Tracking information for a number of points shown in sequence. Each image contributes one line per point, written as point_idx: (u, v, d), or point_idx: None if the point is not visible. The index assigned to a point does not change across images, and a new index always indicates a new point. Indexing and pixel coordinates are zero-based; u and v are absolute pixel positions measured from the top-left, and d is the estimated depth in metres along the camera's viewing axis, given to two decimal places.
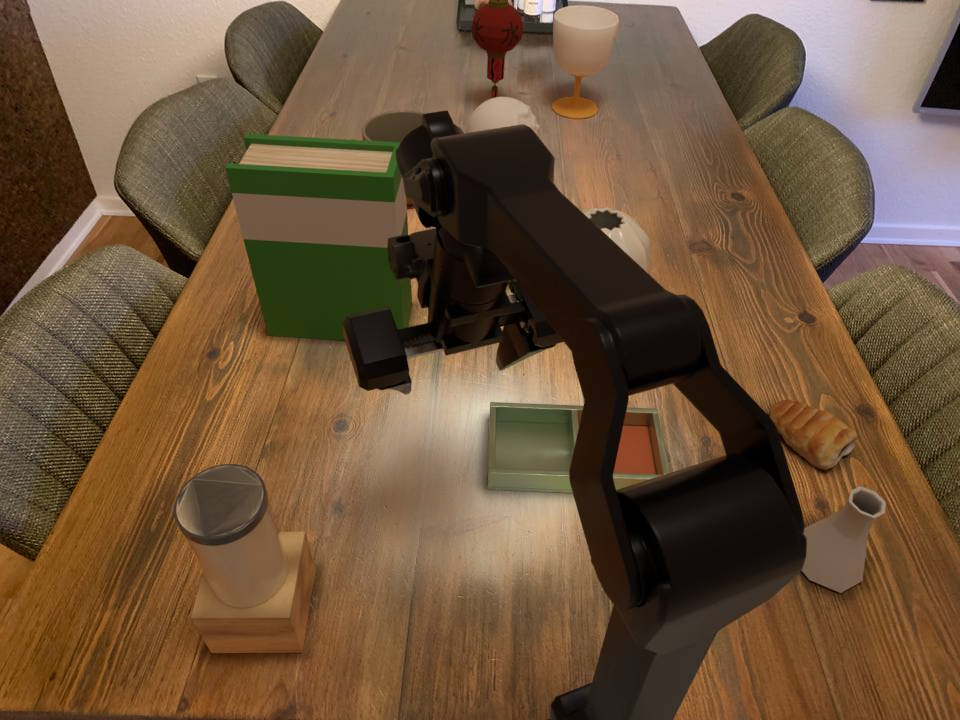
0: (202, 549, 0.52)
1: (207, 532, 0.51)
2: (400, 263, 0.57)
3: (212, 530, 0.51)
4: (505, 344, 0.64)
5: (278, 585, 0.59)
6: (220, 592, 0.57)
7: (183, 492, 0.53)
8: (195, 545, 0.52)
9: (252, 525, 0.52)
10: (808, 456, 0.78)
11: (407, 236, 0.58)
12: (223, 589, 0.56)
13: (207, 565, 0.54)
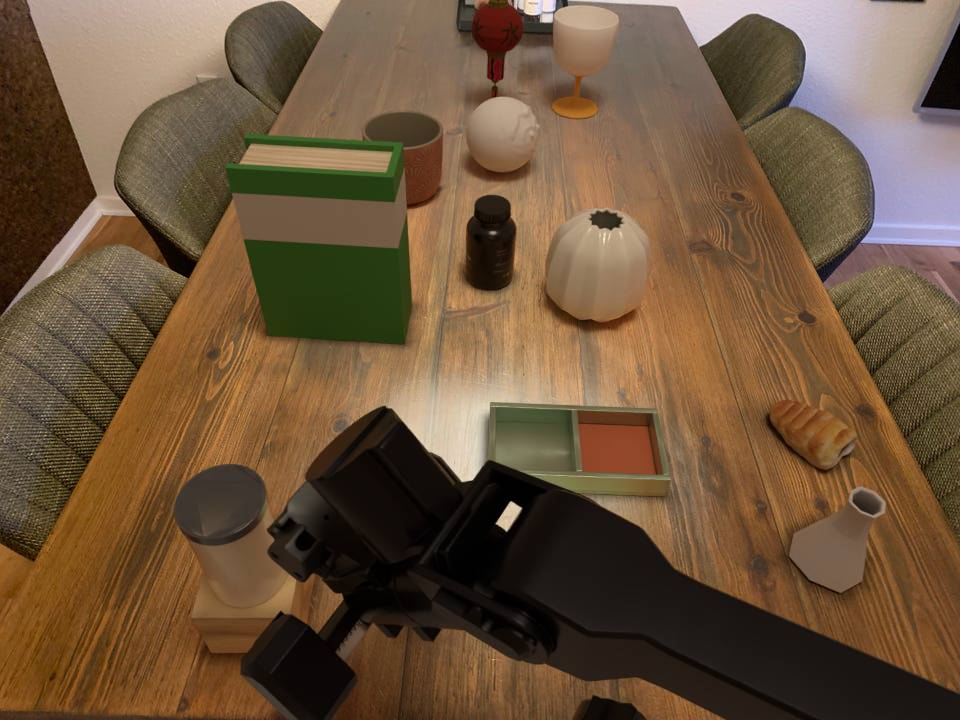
0: (202, 549, 0.52)
1: (207, 532, 0.51)
2: (311, 571, 0.41)
3: (212, 530, 0.51)
4: None
5: (278, 585, 0.59)
6: (220, 592, 0.57)
7: (183, 492, 0.53)
8: (195, 545, 0.52)
9: (252, 525, 0.52)
10: (808, 456, 0.78)
11: (304, 529, 0.40)
12: (223, 589, 0.56)
13: (207, 565, 0.54)
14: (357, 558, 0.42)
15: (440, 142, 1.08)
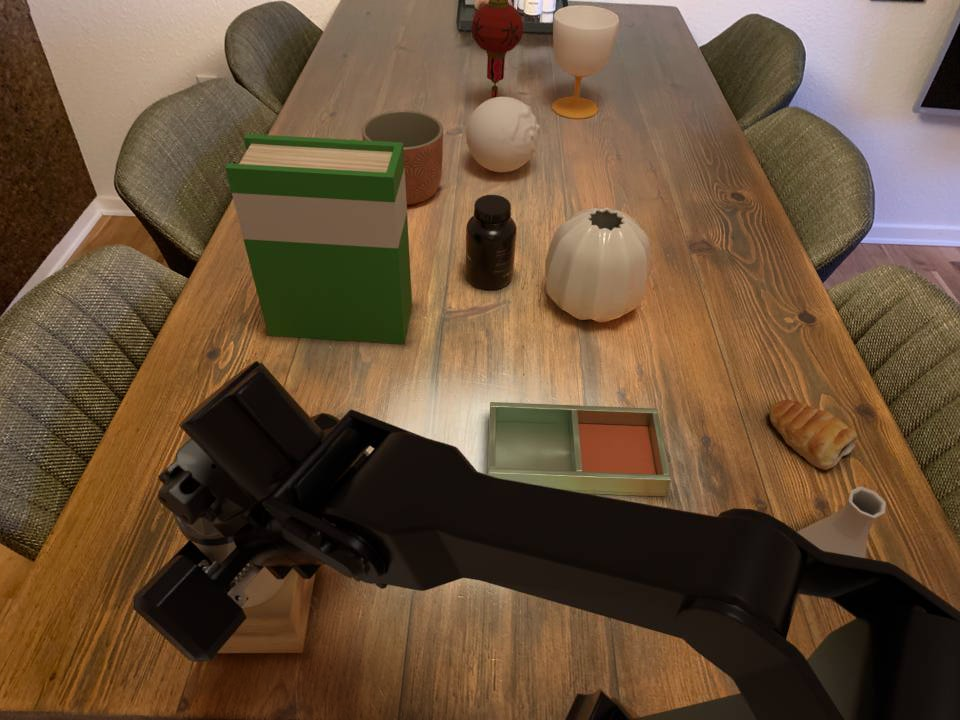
0: (202, 549, 0.52)
1: (207, 532, 0.51)
2: (196, 514, 0.45)
3: (212, 530, 0.51)
4: None
5: (278, 585, 0.59)
6: None
7: None
8: None
9: None
10: (808, 456, 0.78)
11: (190, 475, 0.44)
12: None
13: None
14: (241, 503, 0.46)
15: (440, 142, 1.08)
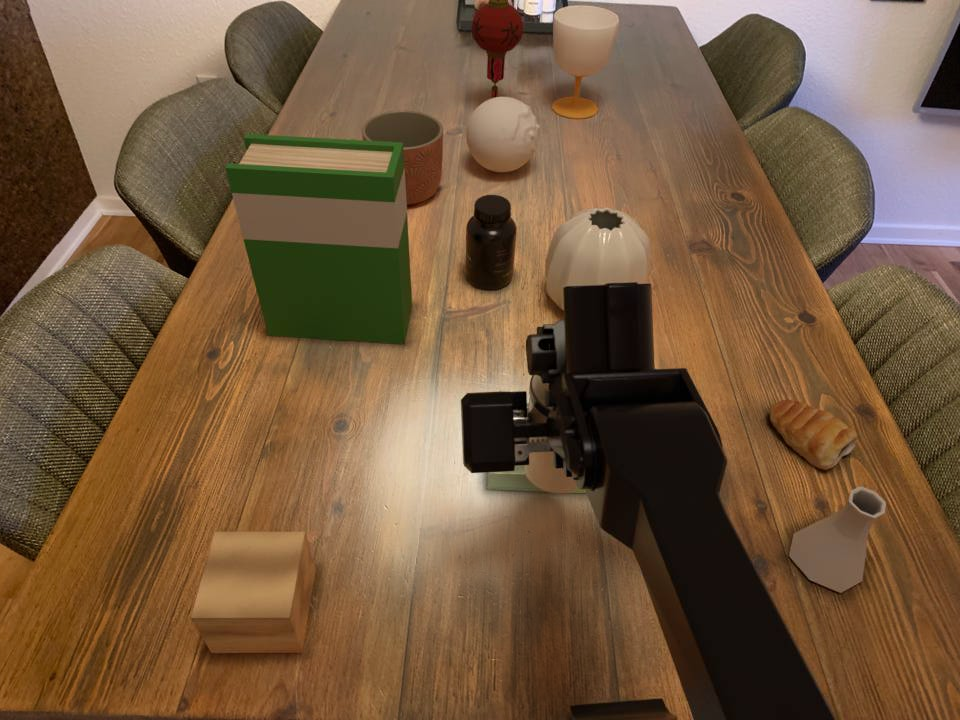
0: (532, 409, 0.60)
1: (542, 398, 0.59)
2: (536, 368, 0.52)
3: None
4: None
5: (563, 488, 0.65)
6: None
7: None
8: (530, 402, 0.61)
9: None
10: (808, 456, 0.78)
11: (552, 338, 0.52)
12: None
13: None
14: None
15: (440, 142, 1.08)
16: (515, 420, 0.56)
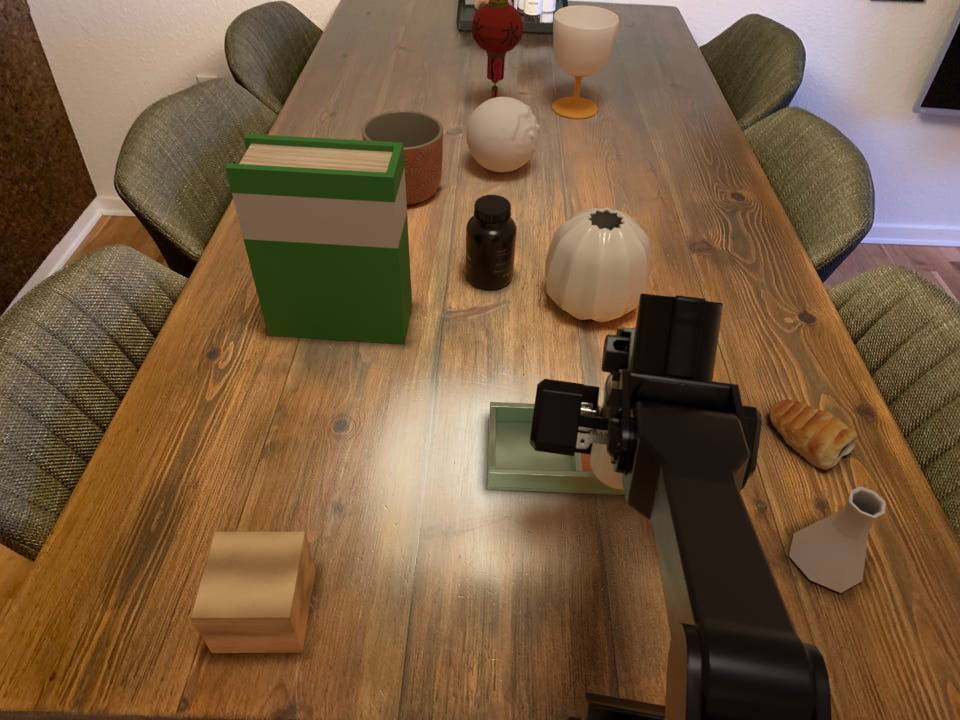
0: (603, 405, 0.65)
1: None
2: (608, 365, 0.57)
3: None
4: None
5: None
6: (592, 448, 0.70)
7: None
8: (603, 399, 0.65)
9: None
10: (808, 455, 0.78)
11: (627, 341, 0.56)
12: (594, 447, 0.69)
13: None
14: None
15: (440, 142, 1.08)
16: (583, 411, 0.61)
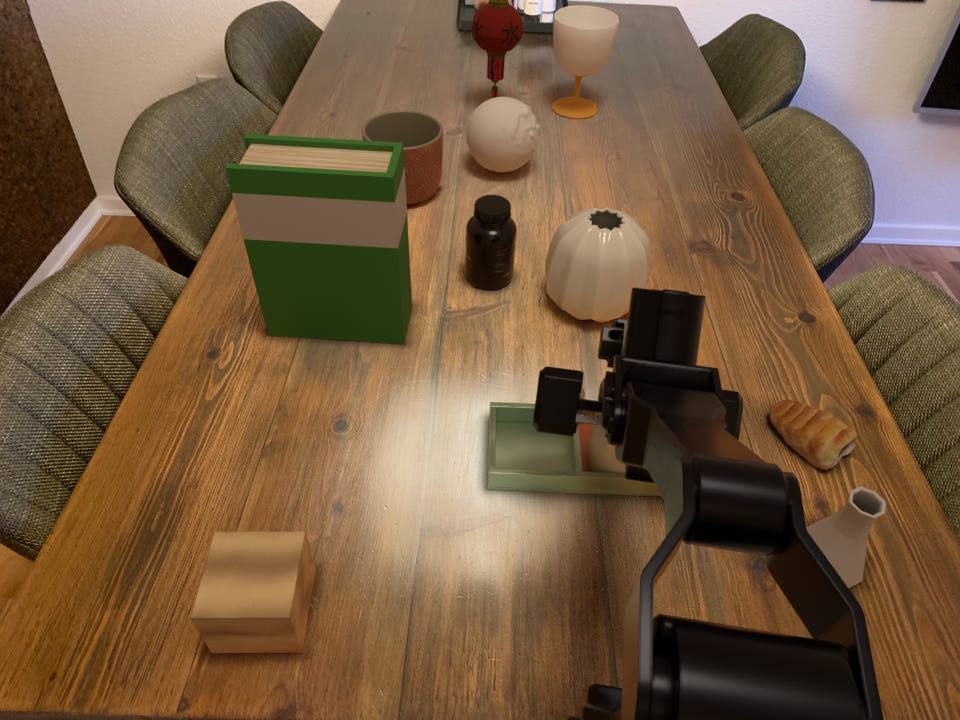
0: None
1: None
2: (604, 353, 0.63)
3: None
4: None
5: None
6: (588, 447, 0.76)
7: None
8: None
9: None
10: (808, 455, 0.78)
11: (621, 331, 0.62)
12: (590, 445, 0.75)
13: None
14: None
15: (440, 142, 1.08)
16: None
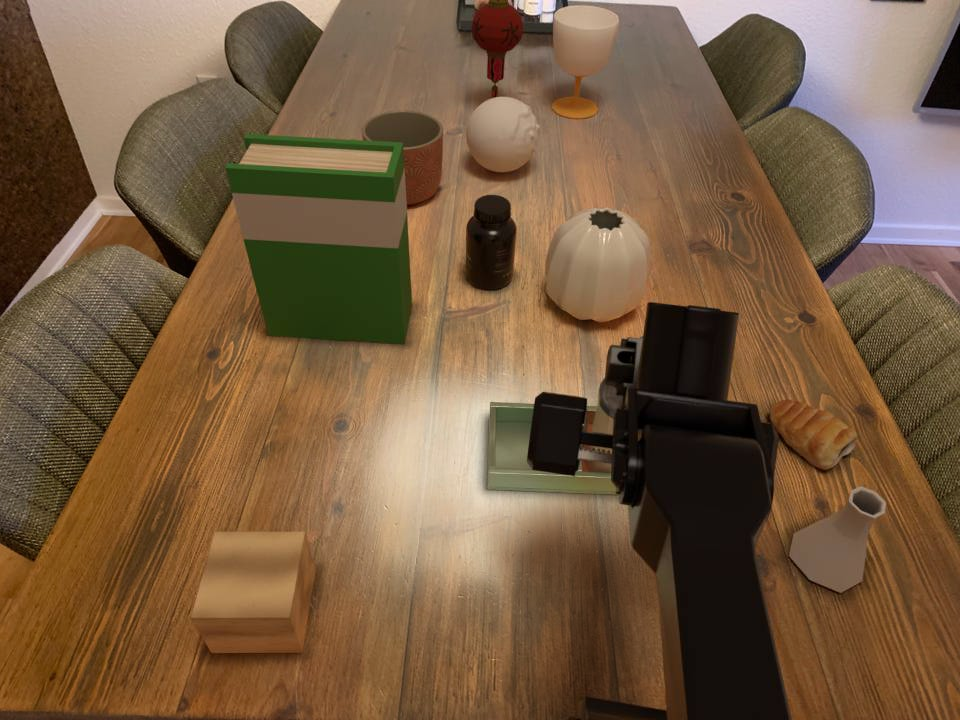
0: (598, 407, 0.71)
1: (607, 399, 0.69)
2: (612, 378, 0.52)
3: (609, 401, 0.69)
4: None
5: None
6: None
7: None
8: (597, 401, 0.71)
9: None
10: (808, 456, 0.78)
11: (633, 352, 0.52)
12: None
13: (594, 420, 0.73)
14: None
15: (440, 142, 1.08)
16: None
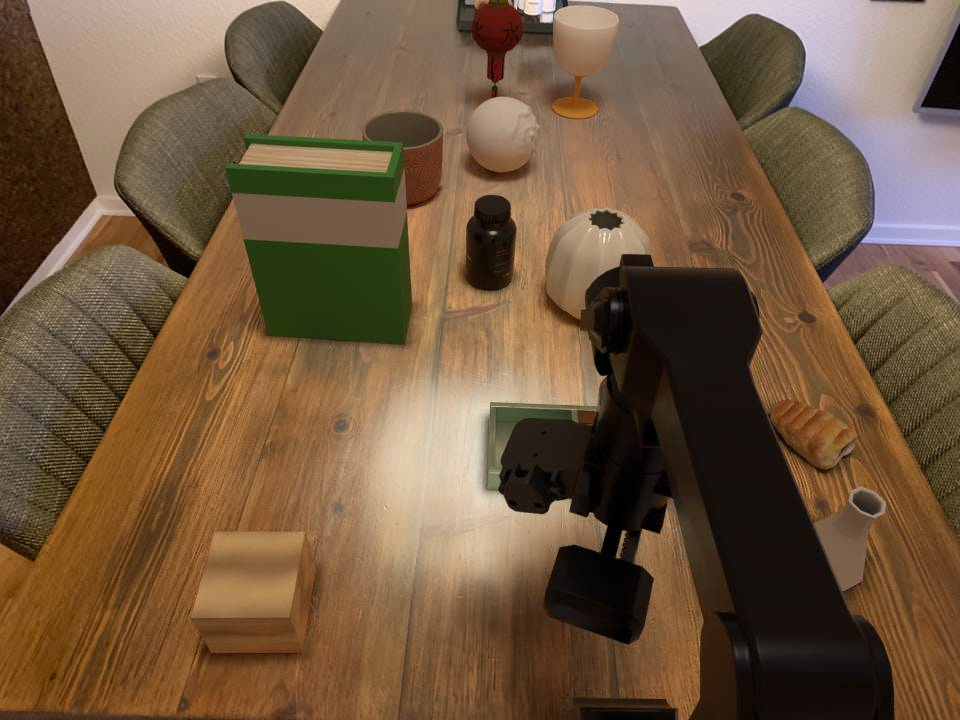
0: (598, 407, 0.71)
1: None
2: (543, 493, 0.45)
3: None
4: None
5: None
6: None
7: None
8: (597, 401, 0.71)
9: None
10: (808, 456, 0.78)
11: (518, 464, 0.46)
12: None
13: None
14: (574, 465, 0.46)
15: (440, 142, 1.08)
16: None
